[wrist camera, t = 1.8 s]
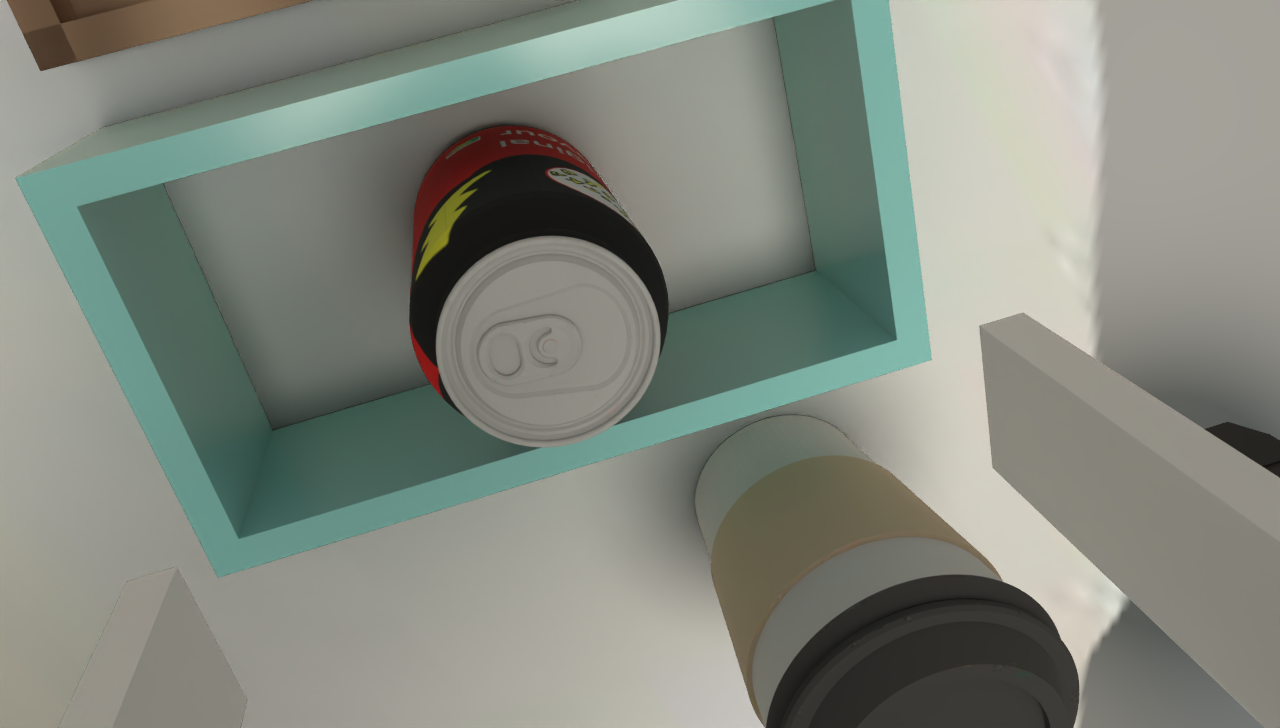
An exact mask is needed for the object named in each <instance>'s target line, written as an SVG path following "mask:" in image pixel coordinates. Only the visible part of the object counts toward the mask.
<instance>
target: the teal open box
mask: <svg viewBox="0 0 1280 728" xmlns="http://www.w3.org/2000/svg"><path fill="white" fill-rule="evenodd" d="M771 17H774V23H775V29H776V35H777V41H778V47H779V53H780V59H781V65H782V71H783V77H784V83H785V88H786V94H787V100H788V106H789V112H790V118H791V124H792V130H793V136H794V142H795V148H796V154H797V160H798V166H799V172H800V178H801V184H802V190H803V196H804V202H805V208H806V214H807V220H808V226H809V232H810V238H811V244H812V250H813V256H814V262H815V268H816V271H812V272H809V273H805V274H802V275H799V276H795V277H792V278H788V279H785V280H782V281H778V282H775V283H771V284H768V285H765V286H761V287H758V288H755V289H751V290H748V291H744V292H741V293H738V294H734V295H731V296H727V297H724V298H721V299H717V300H714V301H710V302H707V303H704V304H700V305H697V306H693V307H690V308H687V309H683V310H680V311H676V312H673V313H670V314H668V325H667V333H666V338H665V342H664V346H663V349H662V352H661V355H660V357H659V359H658V363H657V366H656V369H655V372H654V375H653V377H652V380H651V382H650V384H649V386H648V388H647V389H646V391H645V393H644V394H643V396H642V397H641V399H640V400H639V401H638V403H637V404H636V405H635V406H634V407H633V409H632V410H631V411H630V412H629V413H628V414H627V415H626V416H625V417H623V418H622V419H621V420H620V421H619V422H617V423H616V424H615V425H613V426H612V427H610V428H609V429H607V430H605V431H604V432H602V433H600V434H598V435H596V436H594V437H592V438H589V439H587V440H584V441H581V442H578V443H574V444H570V445H565V446H558V447H529V446H523V445H517V444H514V443H510V442H507V441H504V440H501V439H499V438H496V437H494V436H492V435H490V434H488V433H487V432H485V431H483V430H482V429H480V428H479V427H477V426H476V425H475V424H473V423H472V422H471V421H470V420H469V419H468V418H466V417H464V416H463V415H461V414H460V413H459V412H457V411H456V410H455V409H454V408H452V407H451V406H450V405H449V404H448V403H447V402H446V401H445V400H444V399H443V398H442V397H441V396H440V394H439V393H438V392H437V391H436V390H435V389H434V387H433V386H432V384H429V385H425V386H422V387H418V388H415V389H412V390H408V391H405V392H401V393H398V394H395V395H391V396H388V397H385V398H381V399H378V400H374V401H371V402H368V403H364V404H361V405H357V406H354V407H351V408H347V409H344V410H340V411H337V412H334V413H330V414H327V415H323V416H320V417H317V418H313V419H310V420H306V421H303V422H300V423H296V424H293V425H289V426H286V427H283V428H279V429H276V430H272V428H271V426H270V423H269V421H268V419H267V417H266V414H265V412H264V410H263V408H262V405H261V403H260V401H259V399H258V396H257V394H256V392H255V390H254V387H253V385H252V383H251V381H250V378H249V376H248V374H247V372H246V369H245V367H244V365H243V363H242V360H241V358H240V356H239V354H238V351H237V349H236V347H235V345H234V342H233V340H232V338H231V336H230V333H229V331H228V329H227V327H226V324H225V322H224V320H223V318H222V315H221V313H220V311H219V309H218V306H217V304H216V302H215V300H214V297H213V295H212V293H211V291H210V288H209V286H208V284H207V282H206V279H205V277H204V275H203V273H202V270H201V268H200V266H199V264H198V261H197V259H196V257H195V255H194V252H193V250H192V248H191V246H190V243H189V241H188V239H187V237H186V234H185V232H184V230H183V228H182V225H181V223H180V221H179V219H178V216H177V214H176V212H175V210H174V207H173V205H172V203H171V201H170V198H169V196H168V194H167V192H166V189H165V187H164V185H163V183H165V182H169V181H172V180H176V179H180V178H183V177H187V176H191V175H194V174H198V173H202V172H205V171H209V170H213V169H216V168H220V167H224V166H227V165H231V164H235V163H238V162H242V161H246V160H249V159H253V158H257V157H260V156H264V155H268V154H272V153H275V152H279V151H283V150H286V149H290V148H294V147H297V146H301V145H305V144H308V143H312V142H316V141H319V140H323V139H327V138H330V137H334V136H338V135H341V134H345V133H349V132H352V131H356V130H360V129H363V128H367V127H371V126H374V125H378V124H382V123H385V122H389V121H393V120H396V119H400V118H404V117H408V116H411V115H415V114H419V113H422V112H426V111H430V110H433V109H437V108H441V107H444V106H448V105H452V104H455V103H459V102H463V101H466V100H470V99H474V98H477V97H481V96H485V95H488V94H492V93H496V92H499V91H503V90H507V89H510V88H514V87H518V86H521V85H525V84H529V83H533V82H536V81H540V80H544V79H547V78H551V77H555V76H558V75H562V74H566V73H569V72H573V71H577V70H580V69H584V68H588V67H591V66H595V65H599V64H602V63H606V62H610V61H613V60H617V59H621V58H624V57H628V56H632V55H635V54H639V53H643V52H646V51H650V50H654V49H657V48H661V47H665V46H669V45H672V44H676V43H680V42H683V41H687V40H691V39H694V38H698V37H702V36H705V35H709V34H713V33H716V32H720V31H724V30H727V29H731V28H735V27H738V26H742V25H746V24H749V23H753V22H757V21H760V20H764V19H768V18H771ZM15 179H16V181H17V183H18V185H19V187H20V189H21V191H22V193H23V195H24V197H25V199H26V201H27V203H28V205H29V206H30V208H31V210H32V212H33V214H34V216H35V218H36V220H37V222H38V224H39V226H40V228H41V230H42V232H43V234H44V236H45V238H46V240H47V242H48V244H49V246H50V248H51V250H52V252H53V254H54V256H55V258H56V260H57V262H58V264H59V266H60V268H61V270H62V271H63V273H64V275H65V277H66V279H67V281H68V283H69V285H70V287H71V289H72V291H73V293H74V295H75V297H76V299H77V301H78V303H79V305H80V307H81V309H82V311H83V313H84V315H85V317H86V319H87V321H88V323H89V325H90V327H91V329H92V331H93V333H94V335H95V336H96V338H97V340H98V342H99V344H100V346H101V348H102V350H103V352H104V354H105V356H106V358H107V360H108V362H109V364H110V366H111V368H112V370H113V372H114V374H115V376H116V378H117V380H118V382H119V384H120V386H121V388H122V390H123V392H124V394H125V396H126V398H127V400H128V401H129V403H130V405H131V407H132V409H133V411H134V413H135V415H136V417H137V419H138V421H139V423H140V425H141V427H142V429H143V431H144V433H145V435H146V437H147V439H148V441H149V443H150V445H151V447H152V449H153V451H154V453H155V455H156V457H157V459H158V461H159V463H160V465H161V466H162V468H163V470H164V472H165V474H166V476H167V478H168V480H169V482H170V484H171V486H172V488H173V490H174V492H175V494H176V496H177V498H178V500H179V502H180V504H181V506H182V508H183V510H184V512H185V514H186V516H187V518H188V520H189V522H190V524H191V526H192V528H193V530H194V532H195V533H196V535H197V537H198V539H199V541H200V543H201V545H202V547H203V549H204V551H205V553H206V555H207V557H208V559H209V561H210V563H211V565H212V567H213V569H214V571H215V573H216V575H217V577H218V578H219V577H222V576H225V575H229V574H232V573H235V572H238V571H242V570H245V569H248V568H252V567H255V566H258V565H261V564H265V563H268V562H271V561H274V560H278V559H281V558H284V557H288V556H291V555H294V554H297V553H301V552H304V551H307V550H311V549H314V548H317V547H320V546H324V545H327V544H330V543H333V542H337V541H340V540H343V539H347V538H350V537H353V536H356V535H360V534H363V533H366V532H369V531H373V530H376V529H379V528H383V527H386V526H389V525H392V524H396V523H399V522H402V521H406V520H409V519H412V518H415V517H419V516H422V515H425V514H428V513H432V512H435V511H438V510H442V509H445V508H448V507H451V506H455V505H458V504H461V503H464V502H468V501H471V500H474V499H478V498H481V497H484V496H487V495H491V494H494V493H497V492H501V491H504V490H507V489H510V488H514V487H517V486H520V485H523V484H527V483H530V482H533V481H537V480H540V479H543V478H546V477H550V476H553V475H556V474H560V473H563V472H566V471H569V470H573V469H576V468H579V467H582V466H586V465H589V464H592V463H596V462H599V461H602V460H605V459H609V458H612V457H615V456H618V455H622V454H625V453H628V452H632V451H635V450H638V449H641V448H645V447H648V446H651V445H655V444H658V443H661V442H664V441H668V440H671V439H674V438H677V437H681V436H684V435H687V434H691V433H694V432H697V431H700V430H704V429H707V428H710V427H713V426H717V425H720V424H723V423H727V422H730V421H733V420H736V419H740V418H743V417H746V416H750V415H753V414H756V413H759V412H763V411H766V410H769V409H772V408H776V407H779V406H782V405H786V404H789V403H792V402H795V401H799V400H802V399H805V398H809V397H812V396H815V395H818V394H822V393H825V392H828V391H831V390H835V389H838V388H841V387H845V386H848V385H851V384H854V383H858V382H861V381H864V380H867V379H871V378H874V377H877V376H881V375H884V374H887V373H890V372H894V371H897V370H900V369H904V368H907V367H910V366H913V365H917V364H920V363H923V362H926V361H930V360H932V358H931V349H930V341H929V333H928V324H927V316H926V308H925V299H924V291H923V283H922V274H921V266H920V258H919V249H918V241H917V233H916V224H915V216H914V208H913V199H912V191H911V183H910V174H909V166H908V158H907V149H906V141H905V133H904V124H903V116H902V108H901V99H900V91H899V83H898V74H897V66H896V58H895V49H894V41H893V33H892V24H891V16H890V8H889V0H579V1H576V2H572V3H568V4H564V5H561V6H557V7H553V8H549V9H546V10H542V11H538V12H534V13H531V14H527V15H523V16H519V17H516V18H512V19H508V20H504V21H501V22H497V23H493V24H489V25H486V26H482V27H478V28H474V29H471V30H467V31H463V32H459V33H456V34H452V35H448V36H444V37H441V38H437V39H433V40H429V41H425V42H422V43H418V44H414V45H410V46H407V47H403V48H399V49H395V50H392V51H388V52H384V53H380V54H377V55H373V56H369V57H365V58H362V59H358V60H354V61H350V62H347V63H343V64H339V65H335V66H332V67H328V68H324V69H320V70H317V71H313V72H309V73H305V74H302V75H298V76H294V77H290V78H287V79H283V80H279V81H275V82H272V83H268V84H264V85H260V86H256V87H253V88H249V89H245V90H241V91H238V92H234V93H230V94H226V95H223V96H219V97H215V98H211V99H208V100H204V101H200V102H196V103H193V104H189V105H185V106H181V107H178V108H174V109H170V110H166V111H163V112H159V113H155V114H151V115H148V116H144V117H140V118H136V119H133V120H129V121H125V122H121V123H118V124H114V125H110V126H106V127H102V128H100V129H98V130H97V131H95V132H93V133H91V134H90V135H88V136H86V137H85V138H83V139H81V140H80V141H78V142H76V143H74V144H73V145H71V146H69V147H68V148H66V149H64V150H62V151H61V152H59V153H57V154H56V155H54V156H52V157H50V158H49V159H47V160H45V161H44V162H42V163H40V164H39V165H37V166H35V167H33V168H32V169H30V170H28V171H27V172H25V173H23V174H21V175H20V176H18V177H16V178H15Z"/></svg>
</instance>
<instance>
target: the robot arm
mask: <svg viewBox="0 0 1280 728" xmlns="http://www.w3.org/2000/svg"><path fill="white" fill-rule="evenodd" d="M979 328H980V338H981V349H982V360H983V370H984V381H985V392H986V402H987V413H988V423H989V434H990V445H991V455H992V466H993V469H994V470H996V471H997V472H998V473H999V474H1000V475H1001V476H1002V477H1003V478H1004V479H1005V480H1006V481H1007V482H1008V483H1009V484H1010V485H1011V486H1012V487H1013V488H1014V489H1015V490H1016V491H1017V492H1019V493H1020V494H1021V495H1022V496H1023V497H1024V498H1025V499H1026V500H1027V501H1028V502H1029V503H1030V504H1031V505H1032V506H1033V507H1034V508H1035V509H1036V510H1037V511H1038V512H1039V513H1041V514H1042V515H1043V516H1044V517H1045V518H1046V519H1047V520H1048V521H1049V522H1050V523H1051V524H1052V525H1053V526H1054V527H1055V528H1056V529H1057V530H1058V531H1059V532H1060V533H1061V534H1062V535H1064V536H1065V537H1066V538H1067V539H1068V540H1069V541H1070V542H1071V543H1072V544H1073V545H1074V546H1075V547H1076V548H1077V549H1078V550H1079V551H1080V552H1081V553H1082V554H1083V555H1084V556H1086V557H1087V558H1088V559H1089V560H1090V561H1091V562H1092V563H1093V564H1094V565H1095V566H1096V567H1097V568H1098V569H1099V570H1100V571H1101V572H1102V573H1103V574H1104V575H1105V576H1106V577H1107V578H1109V579H1110V580H1111V581H1112V582H1113V583H1114V584H1115V585H1116V586H1117V587H1118V588H1119V589H1120V590H1121V591H1122V592H1123V593H1124V594H1125V595H1126V596H1127V597H1128V598H1129V599H1131V600H1132V601H1133V602H1134V603H1135V604H1136V605H1137V606H1138V607H1139V608H1140V609H1141V610H1142V611H1143V612H1144V613H1145V614H1146V615H1147V616H1148V617H1149V618H1150V619H1151V620H1153V621H1154V622H1155V623H1156V624H1157V625H1158V626H1159V627H1160V628H1161V629H1162V630H1163V631H1164V632H1165V633H1166V634H1167V635H1168V636H1169V637H1170V638H1171V639H1172V640H1173V641H1174V642H1176V643H1177V644H1178V645H1179V646H1180V647H1181V648H1182V649H1183V650H1184V651H1185V652H1186V653H1187V654H1188V655H1189V656H1190V657H1192V659H1193V660H1194V661H1195V662H1196V663H1198V664H1199V665H1200V666H1201V667H1202V668H1203V669H1204V670H1205V671H1206V672H1207V673H1208V674H1209V675H1210V676H1211V677H1212V678H1213V679H1214V680H1215V681H1216V682H1217V683H1218V684H1219V685H1221V686H1222V687H1223V688H1224V689H1225V690H1226V691H1227V692H1228V693H1229V694H1230V695H1231V696H1232V697H1233V698H1234V699H1235V700H1236V701H1237V702H1238V703H1239V704H1240V705H1241V706H1243V707H1244V708H1245V709H1246V710H1247V711H1248V712H1249V713H1250V714H1251V715H1252V716H1253V717H1254V718H1255V719H1256V720H1257V721H1258V722H1259V723H1260V724H1261V725H1263V727H1265V728H1280V440H1278V439H1276V438H1275V437H1273V436H1271V435H1270V434H1266V433H1263V432H1259V431H1256V430H1253V429H1249V428H1246V427H1243V426H1240V425H1236V424H1233V423H1230V422H1226V423H1222V424H1219V425H1216V426H1213V427H1210V428H1206V429H1203V428H1202V427H1200V426H1198V425H1197V424H1195V423H1194V422H1192V421H1191V420H1189V419H1188V418H1186V417H1184V416H1183V415H1181V414H1180V413H1178V412H1177V411H1175V410H1174V409H1172V408H1170V407H1169V406H1167V405H1166V404H1164V403H1163V402H1161V401H1160V400H1158V399H1156V398H1155V397H1153V396H1152V395H1150V394H1149V393H1147V392H1146V391H1144V390H1142V389H1141V388H1139V387H1138V386H1136V385H1134V384H1133V383H1132V382H1130V381H1129V380H1127V379H1125V378H1124V377H1122V376H1121V375H1119V374H1118V373H1116V372H1115V371H1113V370H1111V369H1110V368H1108V367H1107V366H1105V365H1104V364H1102V363H1101V362H1099V361H1097V360H1096V359H1094V358H1093V357H1091V356H1090V355H1088V354H1087V353H1085V352H1083V351H1082V350H1080V349H1079V348H1077V347H1076V346H1074V345H1073V344H1071V343H1070V342H1068V341H1066V340H1065V339H1063V338H1062V337H1060V336H1059V335H1057V334H1056V333H1054V332H1052V331H1051V330H1049V329H1048V328H1046V327H1045V326H1043V325H1042V324H1040V323H1038V322H1037V321H1035V320H1034V319H1032V318H1031V317H1029V316H1028V315H1026V314H1024V313H1020V314H1017V315H1014V316H1010V317H1007V318H1004V319H1000V320H997V321H994V322H990V323H987V324H984V325H980V326H979ZM246 704H247V698H246V697H245V695H244V693H243V691H242V689H241V687H240V685H239V683H238V681H237V679H236V678H235V676H234V674H233V672H232V670H231V668H230V666H229V664H228V662H227V660H226V659H225V657H224V655H223V653H222V651H221V649H220V647H219V645H218V643H217V642H216V640H215V638H214V636H213V634H212V632H211V630H210V628H209V626H208V624H207V623H206V621H205V619H204V617H203V615H202V613H201V611H200V609H199V607H198V605H197V604H196V602H195V600H194V598H193V596H192V594H191V592H190V590H189V588H188V586H187V585H186V583H185V581H184V579H183V577H182V575H181V573H180V571H179V569H178V568H177V567H173V568H170V569H167V570H163V571H160V572H157V573H153V574H150V575H147V576H143V577H140V578H137V579H133V580H130V581H127V582H126V584H125V587H124V589H123V591H122V593H121V595H120V597H119V599H118V601H117V604H116V606H115V608H114V610H113V612H112V614H111V616H110V618H109V621H108V623H107V625H106V627H105V629H104V631H103V633H102V635H101V638H100V640H99V642H98V644H97V646H96V648H95V650H94V652H93V655H92V657H91V659H90V661H89V663H88V665H87V667H86V670H85V672H84V674H83V676H82V678H81V680H80V682H79V684H78V687H77V689H76V691H75V693H74V695H73V697H72V699H71V701H70V704H69V706H68V708H67V710H66V712H65V714H64V716H63V718H62V721H61V723H60V725H59V727H58V728H241V725H242V720H243V716H244V712H245V708H246Z"/></svg>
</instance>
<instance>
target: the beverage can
mask: <svg viewBox="0 0 1280 728" xmlns="http://www.w3.org/2000/svg"><path fill="white" fill-rule="evenodd" d="M668 311H669V304H668V293H667V288H666V283H665V279H664V276H663V273H662V270H661V267H660V265H659V263H658V260H657V258H656V256H655V255H654V253H653V251H652V249H651V248H650V246H649V245H648V243H647V242H646V240H645V239H644V238H643V236H642V235H641V233H640V232H639V231H638V229H637V228H636V227H635V225H634V224H633V222H632V221H631V220H630V218H629V217H628V215H627V214H626V213H625V211H624V210H623V209H622V207H621V206H620V204H619V203H618V202H617V200H616V199H615V197H614V196H613V195H612V193H611V192H610V191H609V189H608V188H607V186H606V185H605V184H604V182H603V181H602V179H601V178H600V177H599V175H598V174H597V173H596V171H595V170H594V168H593V167H592V166H591V164H590V163H589V162H588V161H587V159H586V158H585V157H584V156H583V155H582V154H581V153H580V152H579V151H578V150H577V149H575V148H574V147H573V146H571V145H570V144H569V143H567V142H566V141H564V140H562V139H561V138H559V137H557V136H555V135H553V134H550V133H548V132H545V131H542V130H539V129H535V128H530V127H524V126H501V127H493V128H489V129H485V130H482V131H479V132H476V133H473V134H471V135H469V136H467V137H465V138H463V139H461V140H460V141H458V142H456V143H455V144H454V145H452V146H451V147H450V148H448V149H447V150H446V151H445V152H444V153H443V154H442V155H441V156H440V157H439V158H438V159H437V160H436V161H435V163H434V164H433V165H432V167H431V168H430V169H429V171H428V173H427V174H426V176H425V178H424V180H423V182H422V184H421V186H420V189H419V192H418V195H417V199H416V204H415V210H414V224H413V246H412V267H411V289H410V315H409V323H410V333H411V338H412V343H413V347H414V351H415V354H416V357H417V359H418V362H419V364H420V366H421V368H422V370H423V372H424V374H425V375H426V377H427V379H428V380H429V382H430V383H431V384H432V386H433V387H434V389H435V390H436V391H437V392H438V393H439V394H440V396H441V397H442V398H443V399H444V400H445V401H446V402H447V403H448V404H449V405H450V406H451V407H452V408H454V409H455V410H456V411H457V412H459V413H460V414H461V415H463V416H464V417H466V418H468V419H469V420H470V421H471V422H472V423H473V424H475V425H476V426H477V427H479V428H480V429H482V430H483V431H485V432H487V433H488V434H490V435H492V436H494V437H496V438H499V439H501V440H504V441H507V442H510V443H514V444H517V445H523V446H529V447H558V446H565V445H570V444H574V443H578V442H581V441H584V440H587V439H589V438H592V437H594V436H596V435H598V434H600V433H602V432H604V431H605V430H607V429H609V428H610V427H612V426H613V425H615V424H616V423H617V422H619V421H620V420H621V419H622V418H623V417H625V416H626V415H627V414H628V413H629V412H630V411H631V410H632V409H633V407H634V406H635V405H636V404H637V403H638V401H639V400H640V399H641V397H642V396H643V394H644V393H645V391H646V389H647V388H648V386H649V384H650V382H651V380H652V377H653V375H654V372H655V369H656V366H657V363H658V359H659V357H660V355H661V352H662V349H663V346H664V342H665V338H666V333H667V325H668Z"/></svg>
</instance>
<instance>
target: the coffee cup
mask: <svg viewBox="0 0 1280 728" xmlns="http://www.w3.org/2000/svg"><path fill="white" fill-rule="evenodd" d="M695 510H696V515H697V519H698V522H699V525H700V529H701V532H702V535H703V538H704V541H705V544H706V547H707V550H708V553H709V556H710V559H711V573H712V579H713V583H714V586H715V589H716V593H717V596H718V599H719V602H720V605H721V608H722V612H723V615H724V618H725V621H726V624H727V628H728V631H729V634H730V637H731V640H732V643H733V647H734V650H735V653H736V656H737V659H738V663H739V666H740V669H741V672H742V675H743V678H744V682H745V685H746V688H747V691H748V694H749V697H750V701H751V704H752V706H753V709H754V711H755V713H756V715H757V716H758V718H759V720H760V721H761V723H762V724H763V725H764V727H765V728H1073V726H1074V724H1075V720H1076V716H1077V710H1078V704H1079V679H1078V673H1077V669H1076V666H1075V663H1074V660H1073V658H1072V656H1071V654H1070V652H1069V650H1068V648H1067V647H1066V645H1065V644H1064V643H1063V641H1062V640H1061V638H1060V635H1059V633H1058V630H1057V628H1056V626H1055V624H1054V622H1053V621H1052V619H1051V618H1050V616H1049V615H1048V613H1047V612H1046V611H1045V610H1044V609H1043V607H1042V606H1041V605H1040V604H1039V603H1038V602H1036V601H1035V600H1034V599H1033V598H1032V597H1030V596H1029V595H1028V594H1026V593H1025V592H1023V591H1021V590H1020V589H1018V588H1016V587H1014V586H1012V585H1009V584H1007V583H1004V582H1003V581H1002V579H1001V577H1000V575H999V574H998V572H997V571H996V569H995V568H994V566H993V565H992V564H991V563H990V562H989V561H988V560H987V559H986V558H985V557H984V556H983V555H982V554H981V553H980V552H979V551H978V550H976V549H975V548H974V547H973V546H972V545H971V544H970V543H969V542H967V541H966V540H965V539H964V538H963V537H962V536H961V535H960V534H959V533H957V532H956V531H955V530H954V529H953V528H952V527H951V526H950V525H949V524H947V523H946V522H945V521H944V520H943V519H942V518H941V517H940V516H938V515H937V514H936V513H935V512H934V511H933V510H932V509H931V508H930V507H928V506H927V505H926V504H925V503H924V502H923V501H922V500H921V499H920V498H918V497H917V496H916V495H915V494H914V493H913V492H912V491H911V490H909V489H908V488H907V487H906V486H905V485H904V484H903V483H902V482H901V481H899V480H898V479H897V478H896V477H895V476H894V475H893V474H891V473H890V472H889V471H887V470H886V469H884V468H883V467H881V466H879V465H877V464H875V463H874V462H873V461H872V460H871V459H870V458H869V457H868V456H867V455H866V454H865V453H863V452H862V451H861V450H860V449H859V448H858V447H857V446H856V445H855V444H854V443H853V442H852V441H851V440H849V439H848V438H847V437H846V436H845V435H844V434H843V433H842V432H841V431H839V430H838V429H837V428H835V427H834V426H832V425H830V424H829V423H827V422H824V421H822V420H819V419H816V418H813V417H808V416H801V415H783V416H776V417H771V418H767V419H763V420H760V421H757V422H755V423H752V424H750V425H748V426H746V427H744V428H742V429H741V430H739V431H737V432H736V433H734V434H733V435H732V436H730V437H729V438H728V439H727V440H725V441H724V442H723V443H722V444H721V445H720V446H719V447H718V448H717V449H716V450H715V452H714V453H713V454H712V455H711V457H710V458H709V460H708V461H707V463H706V464H705V466H704V468H703V470H702V472H701V475H700V477H699V480H698V483H697V488H696V494H695Z"/></svg>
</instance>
